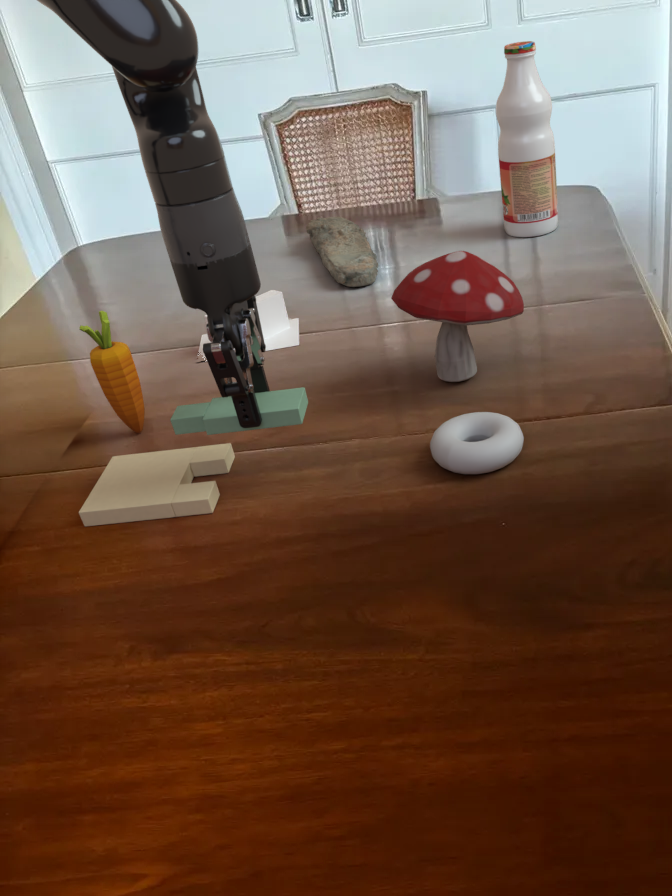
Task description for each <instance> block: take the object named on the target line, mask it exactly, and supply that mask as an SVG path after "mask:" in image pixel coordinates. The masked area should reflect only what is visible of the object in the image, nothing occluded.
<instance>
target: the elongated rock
mask: <svg viewBox="0 0 672 896" xmlns="http://www.w3.org/2000/svg"><path fill="white" fill-rule="evenodd" d="M305 230H306V234H309V239H310V240H311V244H313V246H314V247H313V248H314V249H315V253H318V254H319V256H320V258H321V261H322V265H323V266H324V267H325V269H326V270H328V272H329V274H330V276H331V277H333V279H334V280H335V282H337V284H341V285H342V286H346V287H348V288H349V287H351V288H355V287H356V288H357V287H364V286H369V285H372V284H374V283H375V281H376V278H377V276H378V273H379V270H378V267H379V262H378V260H377V257H378V256H377V254H376V253H375V252H374V251H373V250H372V248H371V244H370V241H369V240H368V237H367V236H366V231H365V230H364V229H363V228H361V227H360V226H359V224H357V223H355V222H354V221H351V220H349V218H346V217H342V216H329V217H316V219H310V220H309V222H308V223H307V224H306V225H305Z"/></svg>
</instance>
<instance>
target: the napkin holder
mask: <svg viewBox="0 0 672 896" xmlns="http://www.w3.org/2000/svg"><path fill="white" fill-rule="evenodd" d="M255 297H256V304H257V309H258V314H259V319H260V324H261V328H262V333H263V338H264V343H265V345H266V349H265V352H267V351H272V350H273V351H274V350H279V349H285V348H291V347H295V346H300V318H299V317H295V318H289V315H288V312H287V307H286V303H285V299H284V294H283V291H280V290H277V289H276V290H275V289H270V290H267V291H266V292H263V293H261V294H259V295H255ZM203 317H204V320H205V323H206V324H207V323H208V320H207V314H205V315H204V316H203ZM204 343H211V342H210V341H209V339H208V335H207V333H204V334H201V338H200V343H199V347H198V351H197V356H199V355H200V354H201V355H203V357H202V358H204V357H205V355H204V352H203V344H204ZM198 352H199V353H200V352H201V353H200V354H199V353H198ZM198 354H199V355H198ZM205 358H206V357H205ZM205 358H204V360H205ZM205 362H207V360H206V361H205ZM205 362H204V363H205Z"/></svg>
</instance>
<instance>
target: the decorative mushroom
mask: <svg viewBox="0 0 672 896" xmlns="http://www.w3.org/2000/svg"><path fill="white" fill-rule="evenodd" d="M390 299H391V300H392V302H393V303H394V304H395V305H396V306H397V308H398V309H399V310H401V311H403V312H405V313H406V314H408V315H409V316H412V317H414V318H415V319H419V320H426V321H433V322H438V323H441V324H440V328H439V330H438V334H437V335H436V344H435V350H434V361H435V369H436V375H437V377H438V378H439V379H440V380H442V381H444V382H449V383H459V382H463V381H467V380H469V379H472V378H473V377H474V376H476V374H477V373H478V366H477V365H478V364H477V359H476V354H475V353H476V352H475V349H474V346H473V344H472V341H471V337H470V334H469V331H468V330H469V329H468V326H476V325H485V324H487V325H488V324H492V323H496V322H502V321H507V320H509V319H512V318H515V317H518V316H520V315H522V314H523V313H524V311H525V303H524V299H523V296H522V294H521V292H520V290H519V288H518V287H517V285H516V284H515V282H514V281H513V280H512V279H511V278H510V277H509V276H508V275H506V274H505V273H504V272H503V271H501V269H499V268H498V267H496V266H495V265H493V264H491V263H490V262H488V261H487V260H485V259H483V258H481V257H480V256H478V255H476V254H474V253H472V252H469V251H465V250H456V251H453V252H450V253H446V254H443V255H440V256H438V257H435V258H433V259H430V260H428V261H425V262H424V263H421V264H420V265H419V266H417V267H415V268H414V269H412V270H411V271H410V272H409V273H407V275H406V276H405V277H404V278H403V279H402V280H401V281H400V283H399V284H398V285H397V286H396V287H395V288H394V289H393V292H392V294H391V297H390Z"/></svg>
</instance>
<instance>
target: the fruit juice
mask: <svg viewBox="0 0 672 896" xmlns="http://www.w3.org/2000/svg"><path fill="white" fill-rule="evenodd" d="M536 50H537V46H536V42H535V41H532V40H527V41H517V42H511V43H508V44H505V45H504V47H503V54H504V58H505V59H506V70H505V75H504V76H505V77H504V82H503V86H502V88H501V91H500V93H499V95H498V97H497V99H496V101H495V117H496V121H497V124H498V126H499V136H498V140H497V156H498V157H497V158H498V166H499V167H498V168H499V178H500V188H501V189H500V190H501V202H502V203H501V204H502V213H503V214H502V217H503V227H504V231H505V233H506V234H507V235H508V236H511V237H515V238H533V237H539V236H543V235H546V234H549V233H550V234H551V232H554V231H556V229H557V228H558V225H559V208H558V206H559V205H558V204H559V203H558V186H557V185H558V183H557V166H556V165H557V162H556V145H555V144H556V143H555V136H554V132H553V129H552V127H551V119H552V117H551V116H552V111H553V103H552V97H551V94H550V92H549V91H548V89H547V88H546V87H545V85H544V83H543V81H542V80H541V77H540V75H539V71H538V68H537V65H536V60H535V55H536V53H537V52H536Z"/></svg>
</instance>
